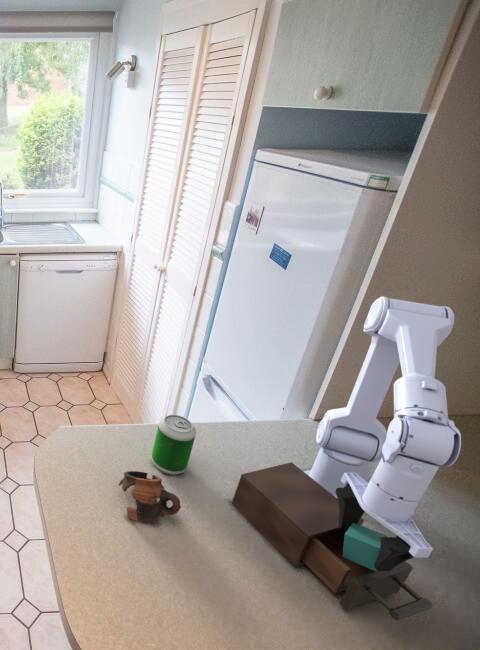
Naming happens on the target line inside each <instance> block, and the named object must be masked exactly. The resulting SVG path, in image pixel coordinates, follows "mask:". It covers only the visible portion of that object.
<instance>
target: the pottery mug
mask: <svg viewBox="0 0 480 650" xmlns="http://www.w3.org/2000/svg"><path fill="white" fill-rule="evenodd" d="M123 474H124V475H123V478H122V479H121V480H120V481H119V483H118V486H119V487H120V486H122V487H121V489H122V490H123V491H124V492H126V491H127V490H128V489H129V488H131V487H133V488H132V490H131V496H132V498H133V499H134V500H135V505H136V508H134V507H131V506H127V508H126V512H127V514H126V515H127V518H128V519H130V520H131V521H135V522H138V523H139V522H140V523H143V524H157V523H158V520H159V518H160V517H161V518H162V517H165V516H174V515H176V514H177V513H179V512H180V510H181V508H182V506H181V501H180V498H179V497H178V496H177V495H176V494H174V493H172V492H169V491H167V490H166V489H165V487H164V485H163V484H162V482H163V478H162V477H161V476H158V475H156V474H152V475H151V476H152V477H151V478H150V477H148V472H145V471H137V470H130V471H129V470H127V471H124V472H123ZM157 499H159V500H157ZM168 501H170V502H171V503H172V505H171V506H170V507H169V506H168V504H167V502H168Z"/></svg>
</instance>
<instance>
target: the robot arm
mask: <svg viewBox="0 0 480 650" xmlns="http://www.w3.org/2000/svg"><path fill="white" fill-rule="evenodd" d="M454 324H455V313H454V311H453V310H452V309H451V307H449V306H444V305H443V306H440V305H434V304H428V303H423V302H422V303H421V302H415V301H410V300H409V301H408V300H402V299H396V298H389V297H387V296H380V297H377V299H375V300H374V302H372V304H371V305H370V308H369V311H368V313H367V315H366V319H365V321H364V324H363V330H362V331H363V333H366V334H367V335H369V336H371V342H370V344H369V348H368V350H367V353H366V356H365V359H364V361H363V362H362V366H361V368H360V370H359V373H358V376H357V378H356V381H355V384H354V386H353V389H352V392H351V394H350V397H349V399H348V402H347V404H346V406H345V407H340V408H333V409H329V410H327V411H326V412H325V413H324V416H323V418H322V419H321V420H320V421H319V424H318V426H317V430H316V436H315V442H316V443H317V445H318V447H320V448H319V450H318V453H317V455H316V457H315V460H314V462H313V465H312V467H311V469H308V470H304V471H303V470H302V471H303V472H305V473H306V474H307V475H308V476H310V477H311V478H312V479H313V480H315V481H316V482H317V483H318V484H320V485H321V486H322V487H323V488H325V489H326V490H327V491H329V492H330V493H331V494H332V495H334V496H335V497H336V498H337V499H338V502H339V526H340V528H341V529H349V528H350V526H351V525H352V524H353V523H356V524H358V522H359V520H360V518H363V516H364V514H365V513H366V514H367V515H368V516H369V517H371V518H372V519H374V521H377V522H378V523H379V524H381V525H382V526H383V527H384V528H386V529H388V530H389V531H390V532H392V533H393V534H394V535H396V536H395V537H394V536H387V537H381V538H380V541H381V548H380V553H379V555H378V557H377V559H376V561H375V564H374V567H375V569H376V570H377V571H390V570H392V569H393V568H394V567H396V566H397V565H399V564H400V563H402V562H405V561H406V562H407V561H409V560H412V559H414V558H415V559H416V558H419V559H420V558H421V559H423V558H425V559H428V558H429V557H430V555H431V553H432V552H433V551H434V548H433V547H432V545H431V544H430V543H428V541H427V540H426V539H425V537H424V535H423V534H422V532H421V531H420V529H419V527H418V526H417V524H416V522H415V521H414V519H413V517H412V516H414V514H415V509H416V507H417V506H418V504H419V502H420V501H421V500H422V497H423V496H424V494H425V492H426V490H427V489H428V487H429V486H430V484H431V482H432V481H433V479H434V477H435V475H436V473H437V472H438V470H439V469H440V466H443V467H445V468H450V467H451V466H453V465H454V464H455V463H456V461H457V459H458V458H459V455H460V453H461V447H462V434H461V431H460V429H458V427H456V425H455V421H454V420H451V419H449V412H448V411H449V410H448V399H447V389H446V386H445V384H443V383H442V382H441V381H440V380H438V379H436V367H437V351H438V347H439V346H440V345H441V344H442V343H443V342H444V341H445V340H446V339H447V338H448V336H449V335H450V334H451V332H452V331H453V327H454ZM399 364H400V369H401V377H400V378H397V380H395V381H394V383H393V419H392V420H391V421H390V423H389V424H388V428H387V429H386V427H385V425H384V424H383V423H382V422H381V421H380V420H379V419H378V415H379V412H380V410H381V407H382V405H383V403H384V401H385V398H386V395H387V392H388V390H389V389H390V386H391V383H392V380H393V378H394V376H395V373H396V371H397V369H398V366H399ZM378 461H379V463H378V464H377V467H376V468H375V470H374V472H373V474H372V476H371V477H370V480H369V481H366V480H367V479H368V476H369V475H370V472H371V471H372V469H373V463H376V462H378Z"/></svg>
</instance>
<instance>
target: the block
mask: <svg viewBox="0 0 480 650" xmlns="http://www.w3.org/2000/svg"><path fill="white" fill-rule="evenodd" d="M381 537H388V535H386V534H384V533H382V532H379V531H376V530H375V529H372V528H369V527H366V526H364V525H359V524H356V523H353V524H352V525H351V526H350V528H349V529H348V530H347V532H346V533H345V537H344V547H343V557H344V558H347V559H349V560H351V561H353V562H355V563H358V564H360V565H362V566H364V567H367V568H369V569H371V570H373V571H376V572H377V570H376V569H375V567H374V564H375V561H376V559H377V557H378V555H379V553H380V548H381V541H380V538H381Z"/></svg>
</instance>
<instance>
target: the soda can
mask: <svg viewBox="0 0 480 650" xmlns="http://www.w3.org/2000/svg"><path fill="white" fill-rule="evenodd" d="M196 435H197V428H196V427H195V426H194V424H193V423H192V421H191V420H189V419H188V418H186V417H185V416H181V415H180V414H179V415H178V414H168V415H166V416H163V417H162V418H161V417H160V419H159V421H158V425H157V429H156V434H155V438H154V443H153V447H152V450H151V451H152V452H151V461H152V463H153V465H154V466H155V467H156V468H157V469H158V471H160V472H162V473H164V474H168V475H171V476H173V475H179V474H182V473H184V472H186V470H187V468H188V465H189V461H190V457H191V453H192V450H193V447H194V442H195V440H196Z"/></svg>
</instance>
